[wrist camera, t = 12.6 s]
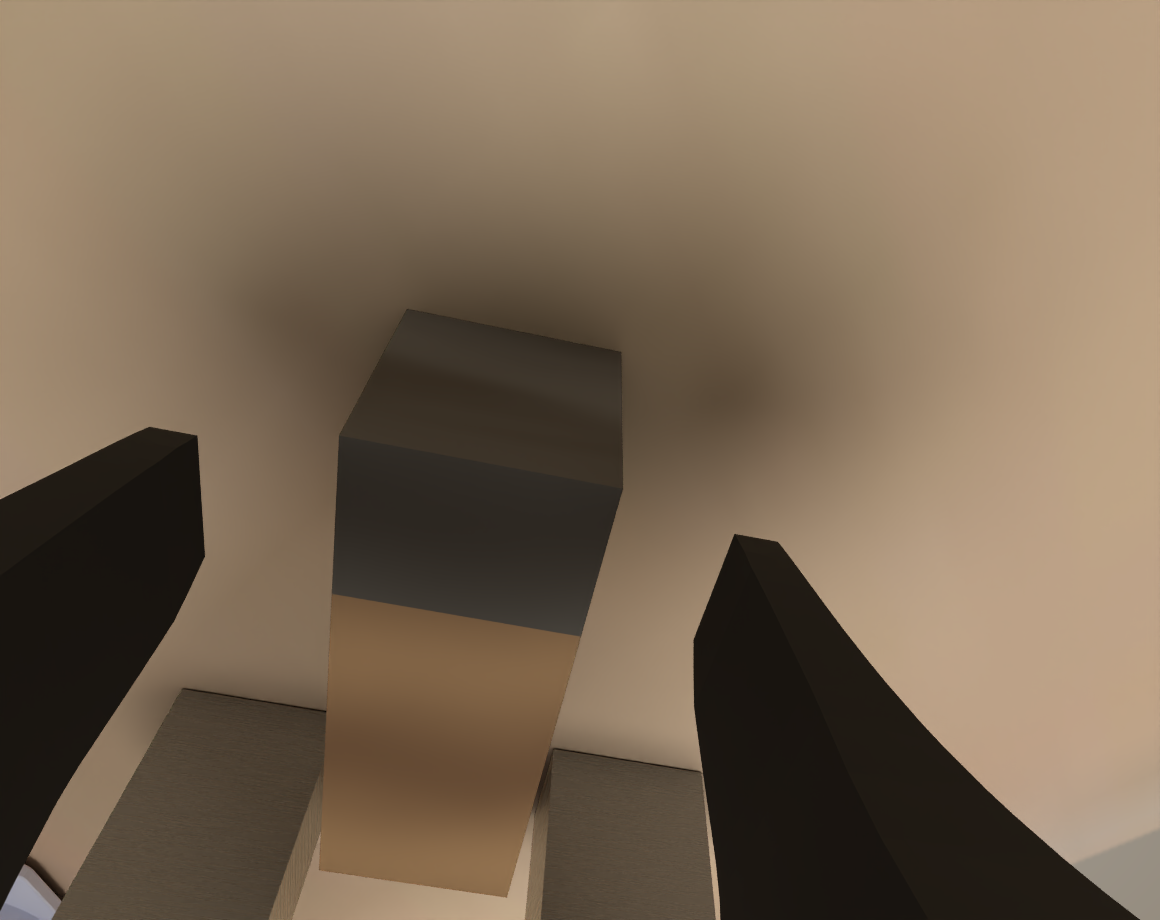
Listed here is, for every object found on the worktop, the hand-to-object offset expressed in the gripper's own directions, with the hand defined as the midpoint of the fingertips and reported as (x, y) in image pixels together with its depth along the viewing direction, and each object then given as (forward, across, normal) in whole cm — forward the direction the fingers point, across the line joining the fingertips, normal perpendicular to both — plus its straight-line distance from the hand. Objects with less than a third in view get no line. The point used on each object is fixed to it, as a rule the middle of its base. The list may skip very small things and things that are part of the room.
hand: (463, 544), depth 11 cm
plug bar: (+5, 0, +5) cm, 7 cm away
